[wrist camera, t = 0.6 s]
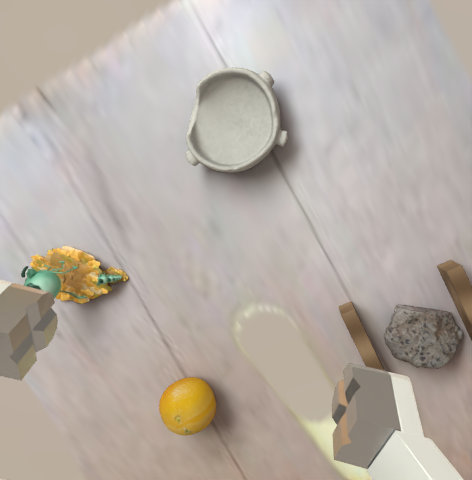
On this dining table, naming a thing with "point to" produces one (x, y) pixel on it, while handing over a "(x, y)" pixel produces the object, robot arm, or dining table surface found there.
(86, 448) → the dining table surface
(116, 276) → the green and yellow piece
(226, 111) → the dish
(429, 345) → the rock
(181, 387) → the fruit
